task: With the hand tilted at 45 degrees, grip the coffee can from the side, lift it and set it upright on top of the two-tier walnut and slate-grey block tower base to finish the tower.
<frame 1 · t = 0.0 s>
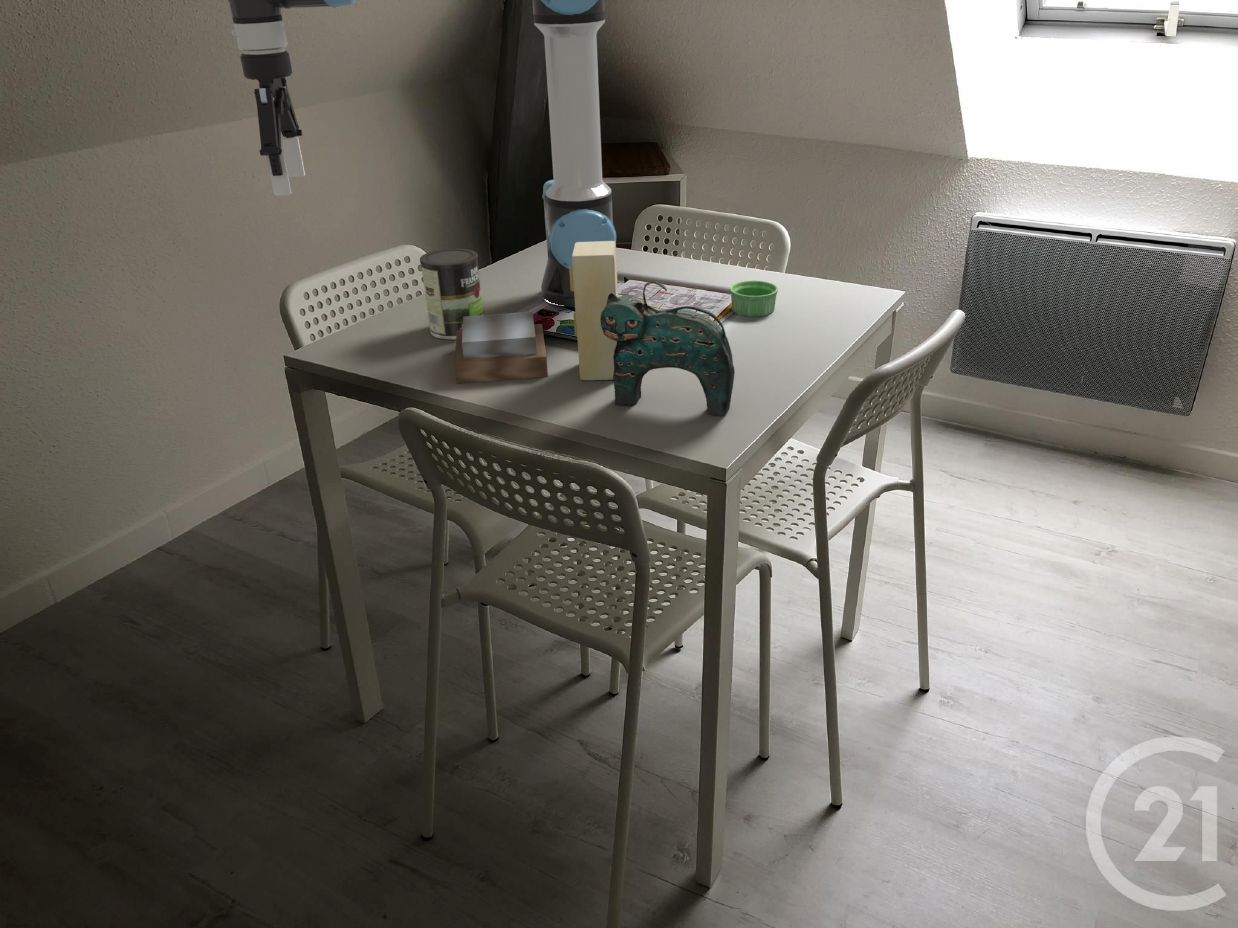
hand: (290, 185, 166), 28 cm above the table, tool pointing down, fingers open, 13 cm apart
coffee can: (457, 330, 181), on the table
toy refrigerator: (598, 372, 162), on the table
tower base: (501, 362, 167), on the table
ceramic cat: (669, 406, 150), on the table
ramekin: (753, 311, 185), on the table
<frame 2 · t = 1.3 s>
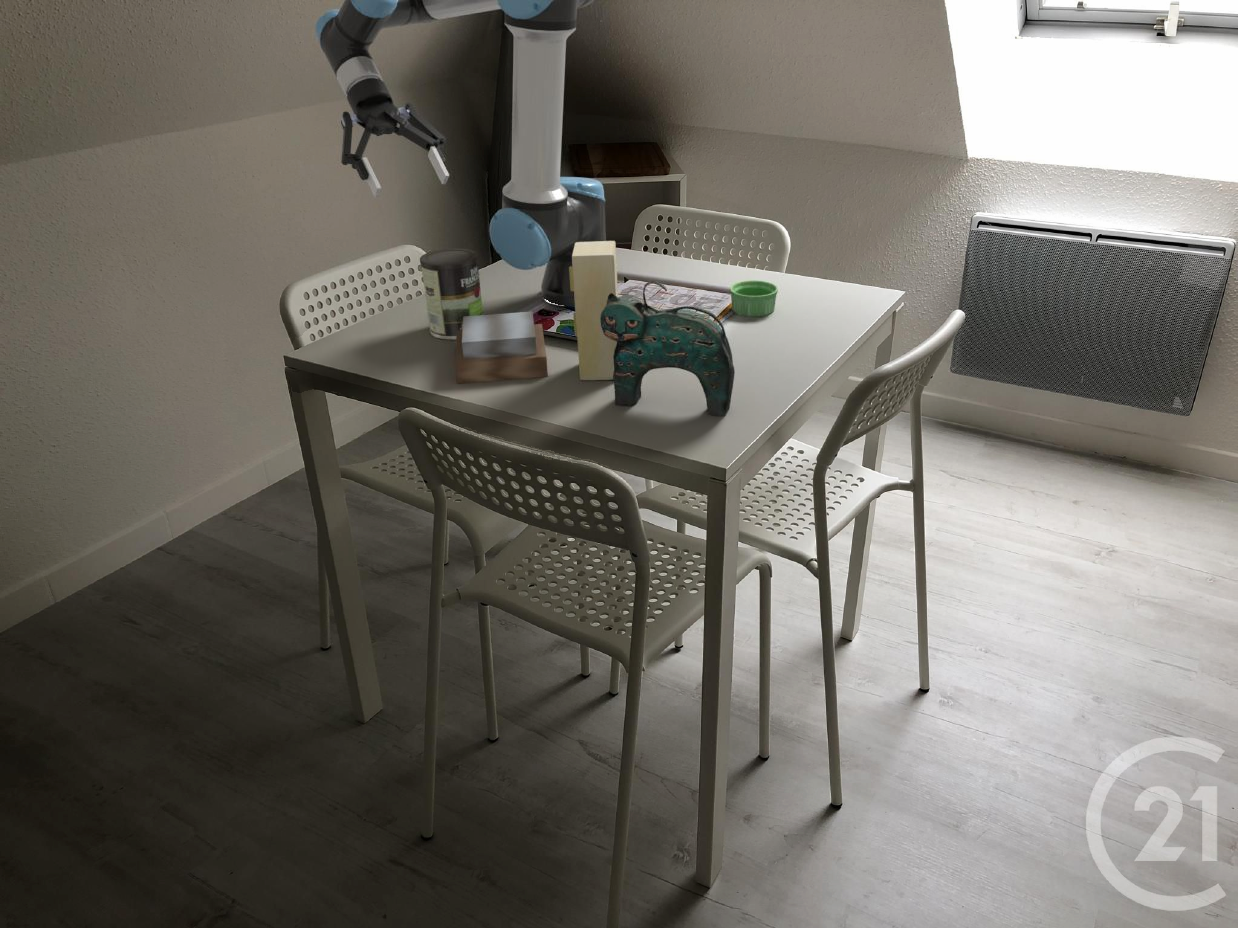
hand: (412, 186, 177), 25 cm above the table, tool tilted 45°, fingers open, 13 cm apart
nothing on the table moved.
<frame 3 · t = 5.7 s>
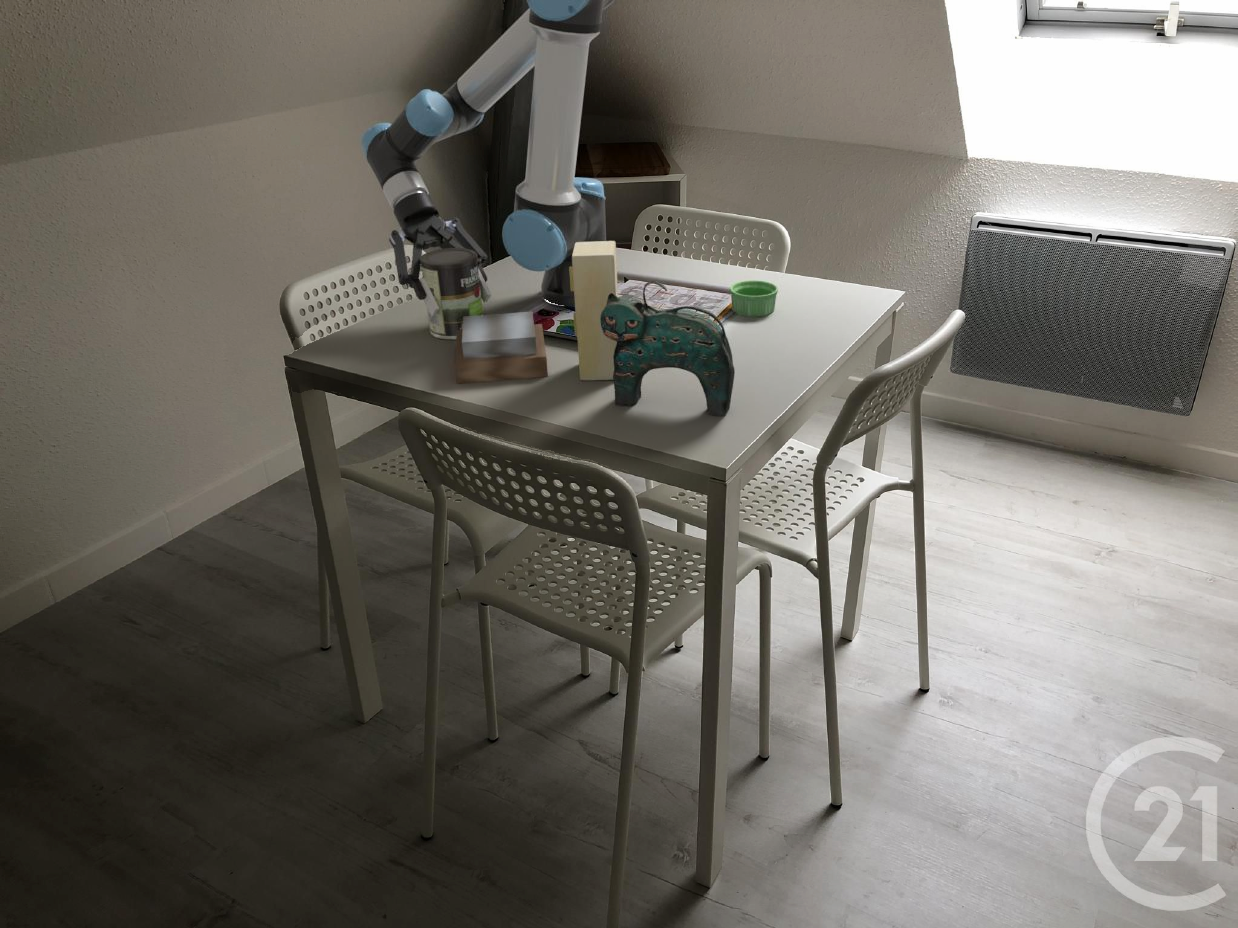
hand: (462, 305, 176), 5 cm above the table, tool tilted 45°, fingers closed on coffee can, 10 cm apart
coffee can: (457, 330, 181), on the table, touching gripper
everything else where it was.
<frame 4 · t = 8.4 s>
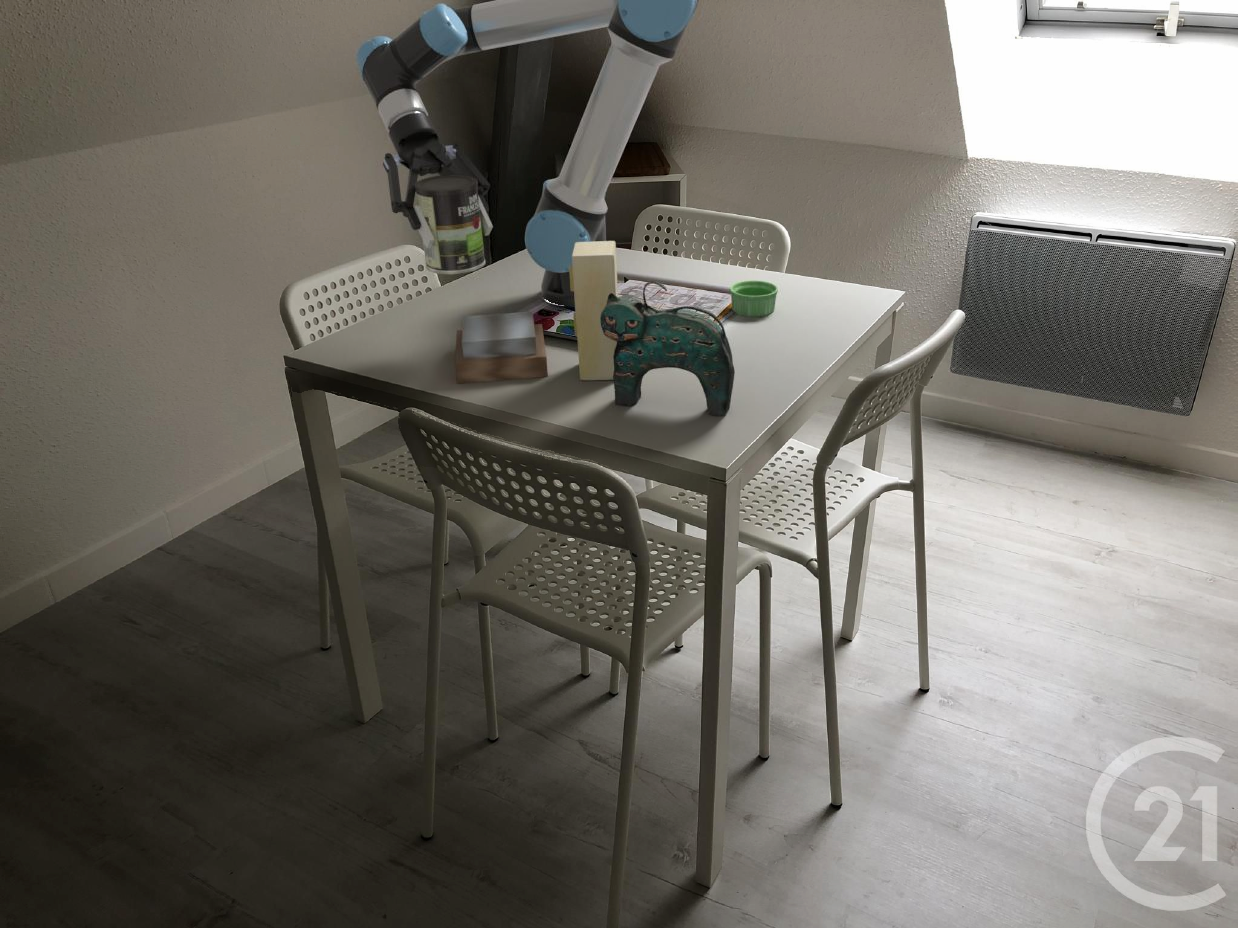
hand: (460, 237, 162), 20 cm above the table, tool tilted 45°, fingers closed on coffee can, 10 cm apart
coffee can: (456, 266, 167), point 15 cm above the table, touching gripper
everything else where it was.
when the fingers open (13 cm above the table, at t = 11.3 s): coffee can drops 1 cm, resting on tower base.
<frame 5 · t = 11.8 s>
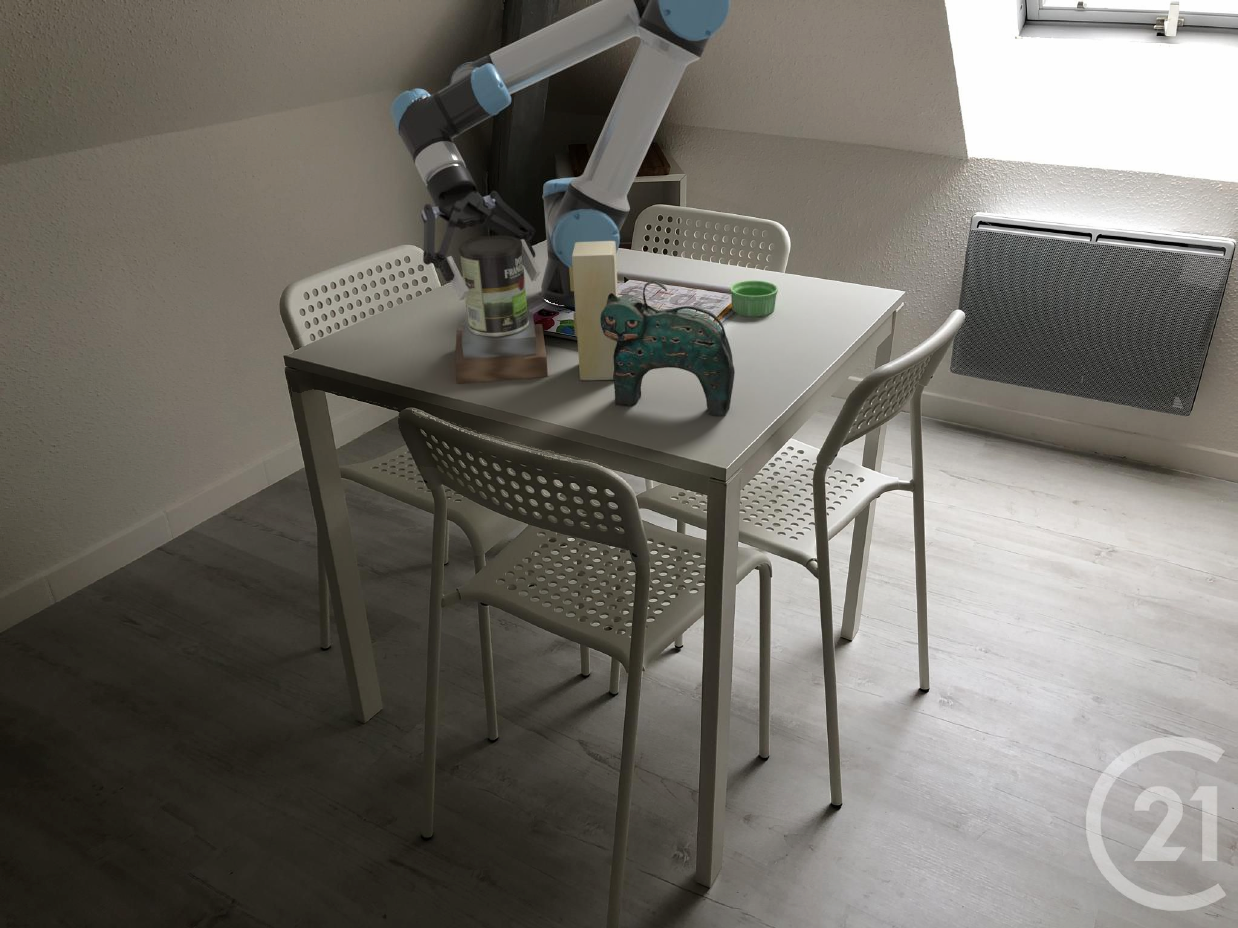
hand: (501, 286, 158), 14 cm above the table, tool tilted 45°, fingers open, 13 cm apart
coffee can: (499, 326, 164), point 6 cm above the table, touching tower base
everything else where it was.
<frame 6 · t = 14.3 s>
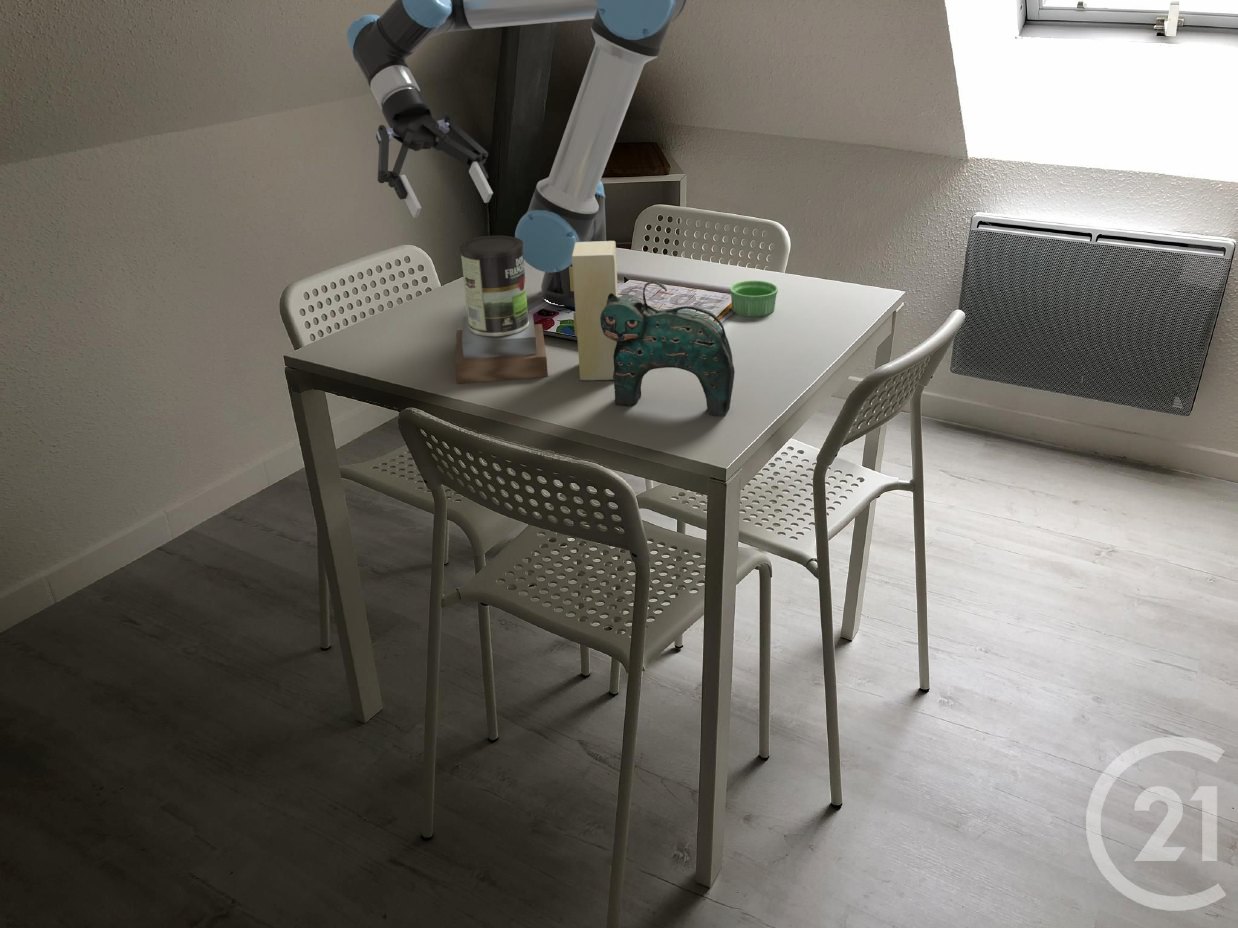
hand: (454, 205, 163), 25 cm above the table, tool tilted 45°, fingers open, 13 cm apart
nothing on the table moved.
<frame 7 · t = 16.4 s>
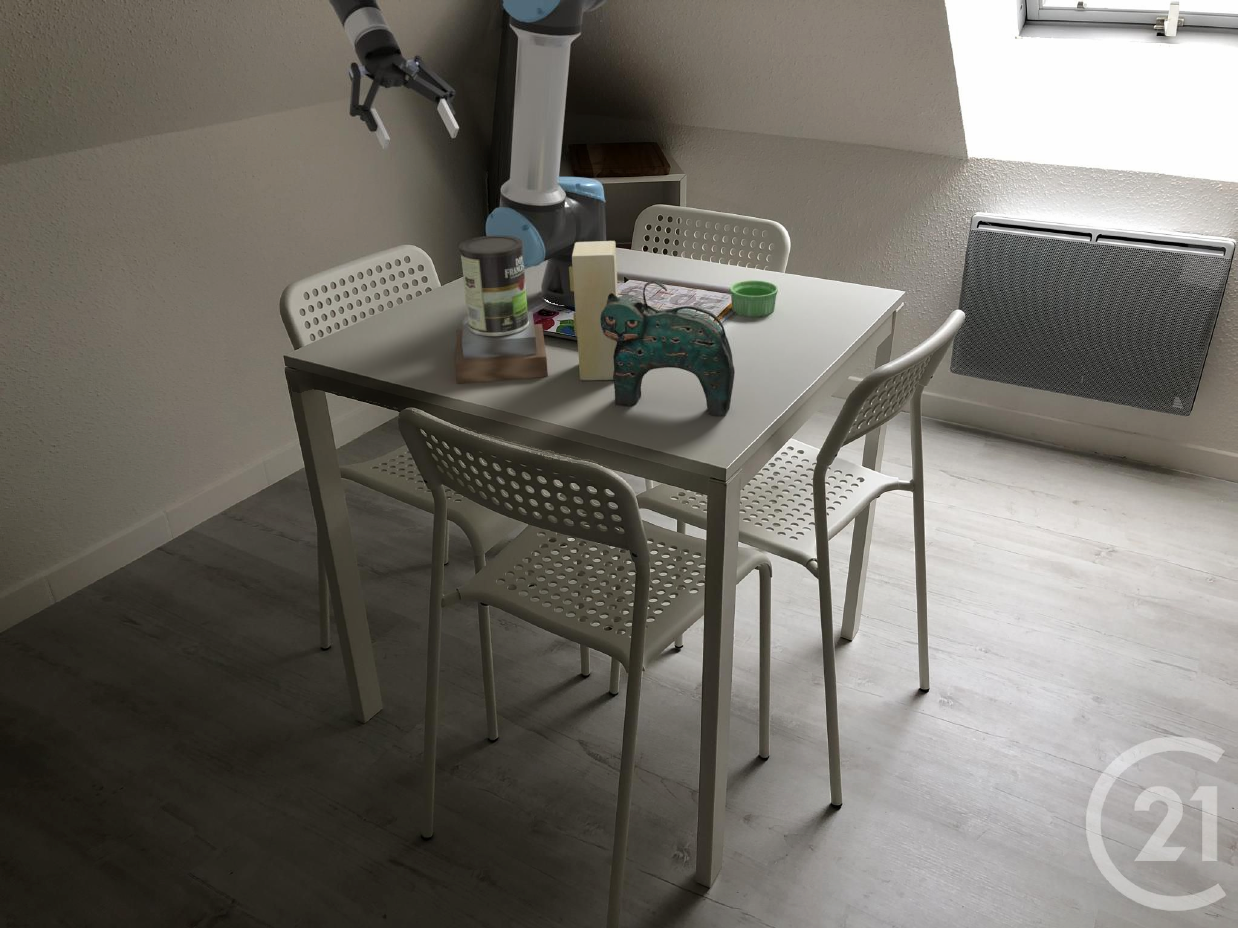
hand: (422, 139, 173), 33 cm above the table, tool tilted 45°, fingers open, 13 cm apart
nothing on the table moved.
at the end: coffee can 0.3 cm off-centre on the tower base, point 6.3 cm above the tower base's base; coffee can tilted 0°; the gripper is holding nothing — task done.
